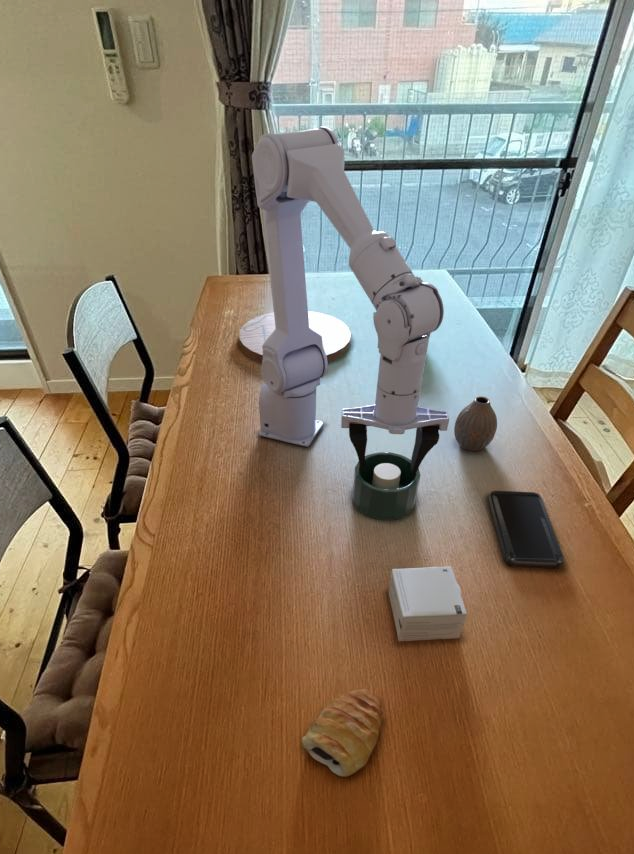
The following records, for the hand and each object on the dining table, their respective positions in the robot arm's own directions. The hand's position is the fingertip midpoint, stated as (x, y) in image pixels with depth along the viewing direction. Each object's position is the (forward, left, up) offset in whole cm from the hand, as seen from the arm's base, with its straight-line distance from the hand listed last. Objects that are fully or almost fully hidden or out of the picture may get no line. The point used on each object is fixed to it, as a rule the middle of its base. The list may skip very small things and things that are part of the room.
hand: (387, 467), depth 82 cm
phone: (+21, +1, -6) cm, 22 cm away
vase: (+10, +20, -6) cm, 23 cm away
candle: (0, 0, -6) cm, 6 cm away
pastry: (+7, -39, -6) cm, 40 cm away
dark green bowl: (0, 0, -6) cm, 6 cm away
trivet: (-34, +45, -6) cm, 57 cm away
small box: (+11, -20, -6) cm, 24 cm away
